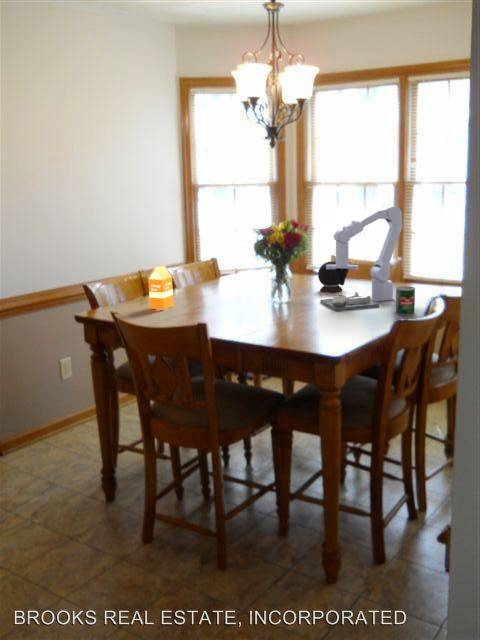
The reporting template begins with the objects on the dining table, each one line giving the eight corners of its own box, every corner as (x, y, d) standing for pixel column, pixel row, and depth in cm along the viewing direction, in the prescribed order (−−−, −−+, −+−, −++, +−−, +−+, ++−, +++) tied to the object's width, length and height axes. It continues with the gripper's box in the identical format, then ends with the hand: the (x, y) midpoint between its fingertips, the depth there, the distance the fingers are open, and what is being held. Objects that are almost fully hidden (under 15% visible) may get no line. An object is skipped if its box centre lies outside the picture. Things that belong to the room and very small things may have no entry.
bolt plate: (362, 299, 328) (362, 287, 327) (379, 307, 310) (379, 295, 309) (320, 302, 324) (320, 291, 322) (335, 311, 306) (335, 299, 304)
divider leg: (346, 303, 313) (346, 296, 312) (343, 302, 314) (343, 296, 314) (358, 298, 321) (358, 292, 320) (355, 298, 322) (355, 292, 321)
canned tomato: (404, 316, 292) (404, 290, 289) (391, 312, 299) (392, 287, 296) (418, 313, 295) (419, 288, 293) (406, 310, 302) (406, 285, 300)
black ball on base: (348, 289, 352) (348, 260, 349) (337, 294, 342) (337, 264, 338) (325, 287, 359) (324, 259, 356) (313, 292, 349) (313, 262, 345)
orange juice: (174, 306, 328) (171, 265, 323) (164, 310, 320) (161, 268, 315) (159, 305, 331) (157, 264, 326) (150, 309, 323) (147, 267, 319)
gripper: (324, 256, 316) (324, 285, 320) (356, 257, 311) (356, 286, 314) (328, 254, 323) (328, 283, 326) (359, 255, 318) (359, 284, 321)
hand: (342, 284), depth 321 cm, fingers closed
